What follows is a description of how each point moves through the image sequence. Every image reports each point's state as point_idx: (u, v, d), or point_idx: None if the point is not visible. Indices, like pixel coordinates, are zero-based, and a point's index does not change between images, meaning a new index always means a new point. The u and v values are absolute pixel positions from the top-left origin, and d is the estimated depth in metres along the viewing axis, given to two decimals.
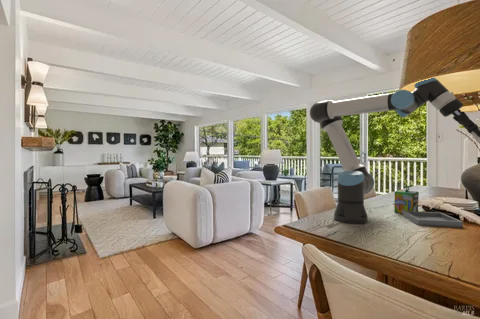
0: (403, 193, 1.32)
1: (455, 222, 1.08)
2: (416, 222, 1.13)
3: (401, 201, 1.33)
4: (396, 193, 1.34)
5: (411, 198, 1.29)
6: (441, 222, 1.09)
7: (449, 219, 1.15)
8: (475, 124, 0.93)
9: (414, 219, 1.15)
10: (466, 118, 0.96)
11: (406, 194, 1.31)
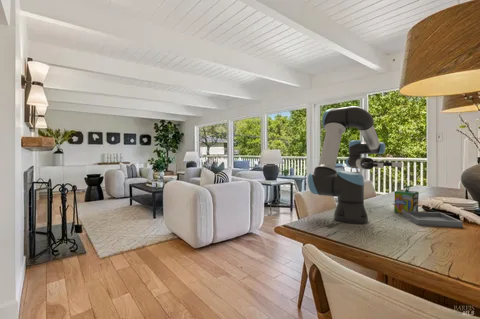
0: (403, 193, 1.32)
1: (455, 222, 1.08)
2: (416, 222, 1.13)
3: (401, 201, 1.33)
4: (396, 193, 1.34)
5: (411, 198, 1.29)
6: (441, 222, 1.09)
7: (449, 219, 1.15)
8: None
9: (414, 219, 1.15)
10: None
11: (406, 194, 1.31)
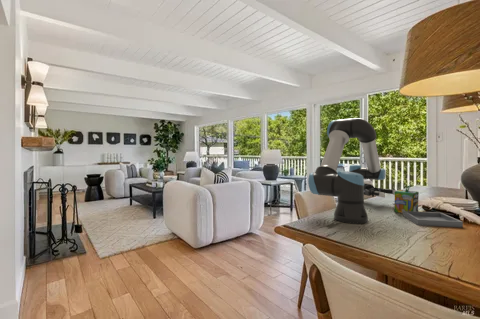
0: (403, 193, 1.32)
1: (455, 222, 1.08)
2: (416, 222, 1.13)
3: (401, 201, 1.33)
4: (396, 193, 1.34)
5: (411, 198, 1.29)
6: (441, 222, 1.09)
7: (449, 219, 1.15)
8: None
9: (414, 219, 1.15)
10: None
11: (406, 194, 1.31)
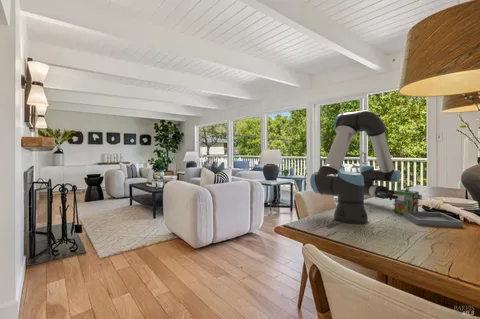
0: (403, 193, 1.32)
1: (455, 222, 1.08)
2: (416, 222, 1.13)
3: (401, 201, 1.33)
4: (396, 193, 1.34)
5: (412, 197, 1.29)
6: (441, 222, 1.09)
7: (449, 219, 1.15)
8: None
9: (414, 219, 1.15)
10: None
11: (406, 194, 1.31)
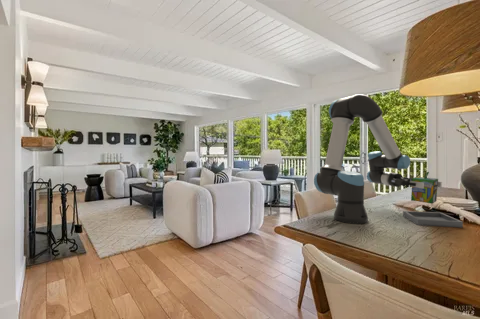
0: (422, 180, 1.21)
1: (455, 222, 1.08)
2: (416, 222, 1.13)
3: (420, 189, 1.21)
4: (414, 180, 1.23)
5: (432, 185, 1.18)
6: (441, 222, 1.09)
7: (449, 219, 1.15)
8: None
9: (414, 219, 1.15)
10: None
11: (426, 181, 1.20)
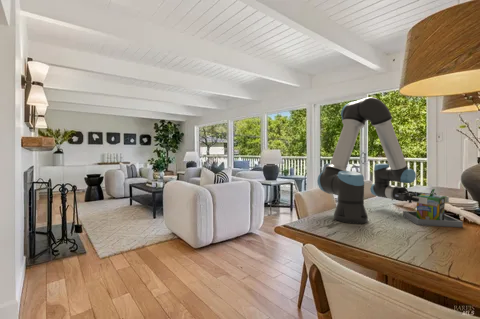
0: (427, 198, 1.15)
1: (455, 222, 1.08)
2: (416, 222, 1.13)
3: (425, 207, 1.15)
4: None
5: (438, 203, 1.11)
6: (441, 222, 1.09)
7: (449, 219, 1.15)
8: None
9: (414, 219, 1.15)
10: None
11: (431, 199, 1.13)
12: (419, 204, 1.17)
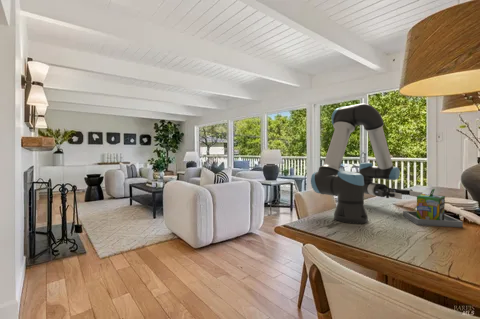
0: (427, 198, 1.15)
1: (455, 222, 1.08)
2: (416, 222, 1.13)
3: (425, 207, 1.15)
4: (419, 198, 1.17)
5: (438, 203, 1.11)
6: (441, 222, 1.09)
7: (449, 219, 1.15)
8: None
9: (414, 219, 1.15)
10: None
11: (431, 199, 1.13)
12: (419, 204, 1.17)
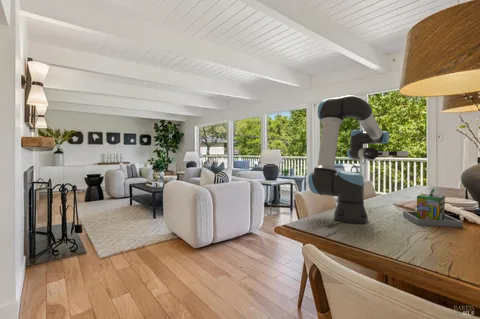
0: (427, 198, 1.15)
1: (455, 222, 1.08)
2: (416, 222, 1.13)
3: (425, 207, 1.15)
4: (419, 198, 1.17)
5: (438, 203, 1.11)
6: (441, 222, 1.09)
7: (449, 219, 1.15)
8: None
9: (414, 219, 1.15)
10: None
11: (431, 199, 1.13)
12: (419, 204, 1.17)
